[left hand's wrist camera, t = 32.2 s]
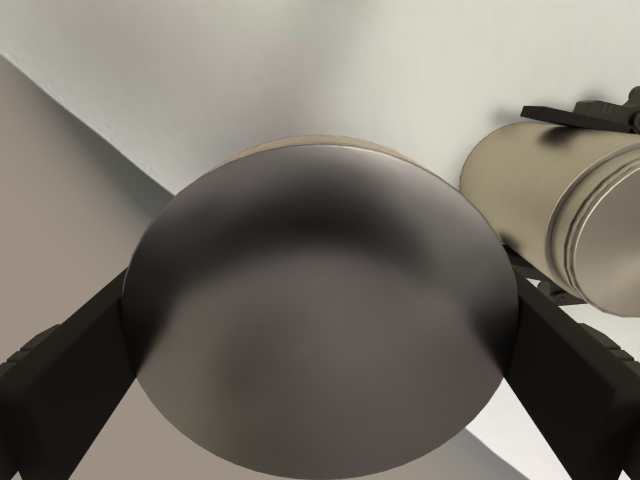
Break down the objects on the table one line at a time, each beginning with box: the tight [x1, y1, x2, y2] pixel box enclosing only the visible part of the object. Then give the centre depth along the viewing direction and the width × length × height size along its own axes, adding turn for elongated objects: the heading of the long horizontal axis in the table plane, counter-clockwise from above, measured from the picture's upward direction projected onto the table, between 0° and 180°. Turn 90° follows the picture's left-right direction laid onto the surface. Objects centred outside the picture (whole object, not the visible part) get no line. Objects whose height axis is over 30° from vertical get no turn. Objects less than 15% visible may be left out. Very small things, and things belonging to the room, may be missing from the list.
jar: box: [460, 122, 640, 317], centre depth 26 cm, size 10×10×16 cm
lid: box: [121, 135, 519, 480], centre depth 11 cm, size 11×11×2 cm
